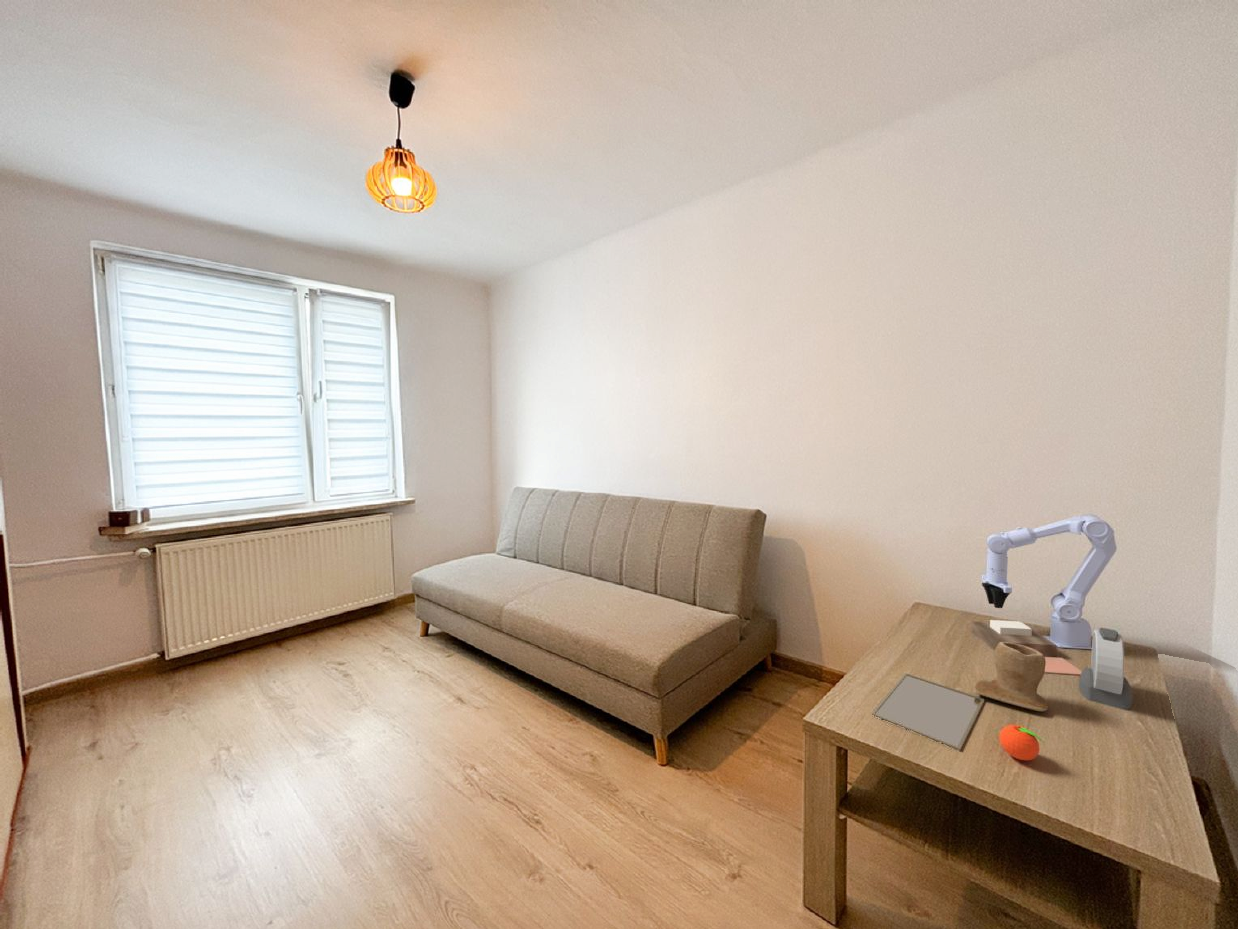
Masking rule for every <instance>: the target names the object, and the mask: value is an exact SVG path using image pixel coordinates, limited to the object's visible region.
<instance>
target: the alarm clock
mask: <svg viewBox="0 0 1238 929" xmlns="http://www.w3.org/2000/svg"><path fill="white" fill-rule="evenodd" d="M1091 641H1092V642H1091V647H1092V649H1091V653H1090V654H1091V656H1090V657H1091V658H1090V659H1091V660H1090V662H1091V663H1090V664H1091V665H1090V666H1091V667H1090V668H1089V667H1088V668H1087V667H1086V668H1083V669H1082V670H1081V671H1082V673H1081V675H1079V676H1080V677H1079V681H1078V690H1079V692H1080V694H1081V695H1082V696H1083V697H1084V698H1085V699H1086V700H1087V701H1090V702H1093V703H1097V704H1101V705H1105V706H1109V707H1113V708H1116V709H1120V710H1124V711H1128V710H1130V709H1131V708H1132V706H1133V699H1134V694H1133V690H1132V687H1131V685H1130V683H1129V680H1128V679H1127V678H1126V677H1125V675H1124V674H1125V669H1124V668H1125V650H1124V649H1125V648H1124V640H1123V636H1122V635H1121V634H1120V633H1119V632H1118V631H1117V630H1115V629H1110V628H1105V627H1100V628H1099V629H1094V630H1093V633H1092V638H1091Z"/></svg>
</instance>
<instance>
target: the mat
mask: <svg viewBox="0 0 1238 929" xmlns="http://www.w3.org/2000/svg"><path fill="white" fill-rule="evenodd" d="M1045 660H1046V665H1045V673H1044V674H1050V675H1051V674H1053V675H1054V674H1055V675H1069V676H1081V673H1082V671H1083V670H1081V669H1079V668H1078V667H1076V666H1074V664H1072V663H1070V662H1069V661H1067V660H1066V659H1065V658H1063V657H1045Z"/></svg>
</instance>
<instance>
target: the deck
mask: <svg viewBox="0 0 1238 929" xmlns="http://www.w3.org/2000/svg"><path fill="white" fill-rule="evenodd" d="M971 625H972V627H971V633H973V634H974V635H975V636H976V637H977V638H979V639H980V640H981V641H982V642H983V643H984V644H986V646H988V647H989V648H991V649H992V650H993V651H994V652H995V649H996V647H997V645H998V643H1000V642H1009V643H1015V644H1019V645H1023V646H1026V647H1029V648H1032V649H1034V650H1037V651H1038V652H1040V653H1041V654H1042V655H1043V656H1044V657H1055V658H1057V645H1056V644H1054V643H1052V642H1051V641H1049V640H1048V639H1046V638H1045V637H1043V636H1044V635H1042V634H1040V633H1039V632H1038V631H1036V630H1034V629H1032V628H1031V627H1030V626H1028V625H1027V624H1025V625H1026V626H1028V627H1029V628H1031V629H1032V634H1031V636H1021V635H1002V634H999V633H998V632H996V631H995V630H994V629H992V628H991V627H990V621H972V624H971Z"/></svg>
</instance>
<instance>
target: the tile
mask: <svg viewBox="0 0 1238 929" xmlns="http://www.w3.org/2000/svg"><path fill="white" fill-rule="evenodd" d="M989 622H990V627H991V628H992V629H994V630H995V631H996V632H998V633H999V634H1002V635H1021V636H1031V634H1032V627H1030V626H1028V625H1027V624H1025V623H1023V622H1022V621H1017V620H1016V621H1015V620H1014V621H1013V620H999V619H998V620H997V619H996V620H995V619H990V620H989ZM1026 625H1027V626H1026ZM1029 627H1030V628H1029Z"/></svg>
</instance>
